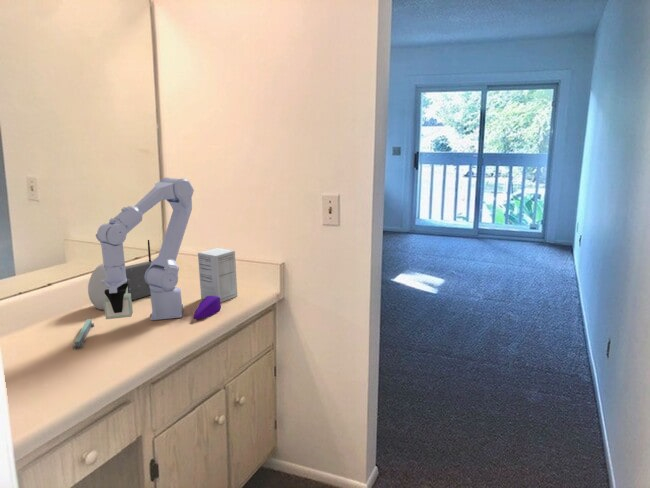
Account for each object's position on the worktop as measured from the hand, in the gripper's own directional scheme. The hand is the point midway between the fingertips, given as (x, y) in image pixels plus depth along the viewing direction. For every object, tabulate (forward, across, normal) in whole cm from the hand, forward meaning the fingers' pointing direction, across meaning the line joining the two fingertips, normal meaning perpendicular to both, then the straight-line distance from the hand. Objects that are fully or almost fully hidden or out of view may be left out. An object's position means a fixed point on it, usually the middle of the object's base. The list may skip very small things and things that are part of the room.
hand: (119, 309), depth 150 cm
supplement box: (+7, -23, +30) cm, 38 cm away
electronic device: (+6, -30, +2) cm, 31 cm away
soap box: (+2, 0, 0) cm, 2 cm away
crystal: (+7, -6, +25) cm, 27 cm away
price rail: (+6, +3, -10) cm, 12 cm away
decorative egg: (+6, -24, -6) cm, 26 cm away
